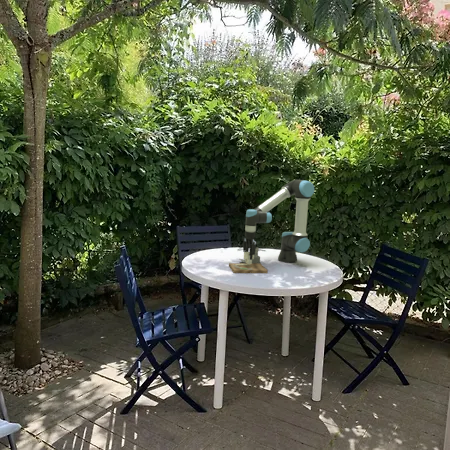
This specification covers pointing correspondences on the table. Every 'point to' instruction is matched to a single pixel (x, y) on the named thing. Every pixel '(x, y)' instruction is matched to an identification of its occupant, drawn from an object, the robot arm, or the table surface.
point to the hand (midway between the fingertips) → (248, 263)
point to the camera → (256, 257)
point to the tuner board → (248, 268)
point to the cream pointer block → (246, 256)
